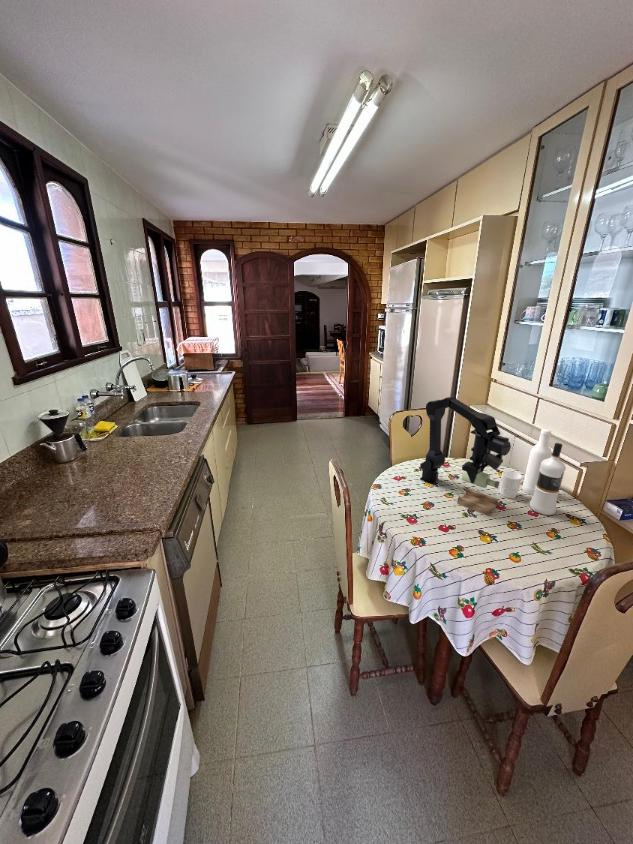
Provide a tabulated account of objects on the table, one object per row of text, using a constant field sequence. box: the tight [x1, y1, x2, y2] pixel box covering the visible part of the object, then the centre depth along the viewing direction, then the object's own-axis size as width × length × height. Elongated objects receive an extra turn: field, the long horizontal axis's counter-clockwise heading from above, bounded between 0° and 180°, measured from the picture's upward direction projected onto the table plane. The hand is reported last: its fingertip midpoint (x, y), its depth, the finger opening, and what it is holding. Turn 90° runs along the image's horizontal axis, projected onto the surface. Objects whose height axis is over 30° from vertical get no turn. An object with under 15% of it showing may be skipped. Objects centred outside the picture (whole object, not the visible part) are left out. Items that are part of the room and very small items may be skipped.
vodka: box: [529, 442, 567, 516], centre depth 140 cm, size 9×9×30 cm
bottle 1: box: [461, 471, 501, 489], centre depth 143 cm, size 13×6×6 cm, turn 45°
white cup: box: [499, 470, 523, 499], centre depth 154 cm, size 8×8×10 cm
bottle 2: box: [521, 428, 553, 496], centre depth 154 cm, size 8×8×30 cm
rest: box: [456, 488, 499, 517], centre depth 148 cm, size 13×10×3 cm
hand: (475, 480), depth 145 cm, fingers closed on bottle 1, 6 cm apart
